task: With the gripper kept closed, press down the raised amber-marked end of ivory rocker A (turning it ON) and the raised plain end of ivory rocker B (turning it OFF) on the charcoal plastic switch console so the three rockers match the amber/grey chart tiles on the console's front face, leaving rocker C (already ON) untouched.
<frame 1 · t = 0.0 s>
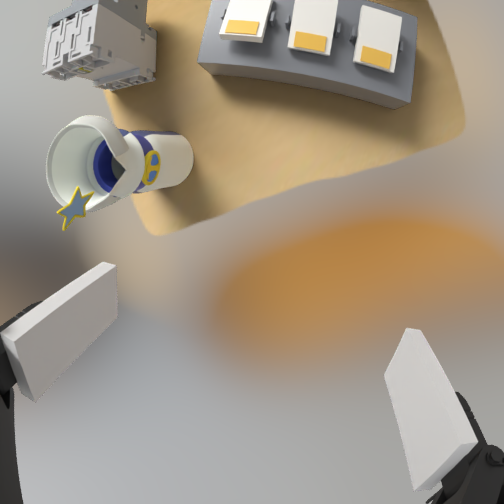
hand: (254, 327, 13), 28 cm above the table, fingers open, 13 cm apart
rocker C: (378, 38, 24), point 8 cm above the table, hinge at 12.0°
rocker A: (247, 14, 25), point 8 cm above the table, hinge at -12.0°
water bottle: (168, 157, 39), on the table
rocker B: (313, 22, 24), point 8 cm above the table, hinge at 12.0°
console: (310, 45, 32), on the table
circuit breaker: (134, 43, 34), on the table
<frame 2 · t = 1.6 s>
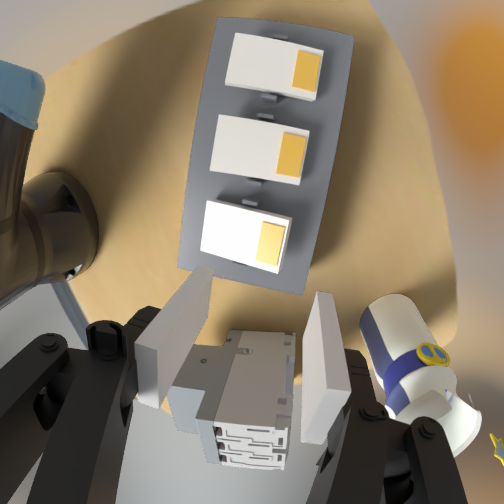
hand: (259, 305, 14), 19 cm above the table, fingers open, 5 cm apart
rocker C: (274, 65, 20), point 8 cm above the table, hinge at 12.0°
rocker A: (244, 234, 25), point 8 cm above the table, hinge at -12.0°
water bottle: (387, 320, 34), on the table
rocker B: (259, 149, 23), point 8 cm above the table, hinge at 12.0°
console: (268, 150, 30), on the table
circuit breaker: (239, 353, 38), on the table
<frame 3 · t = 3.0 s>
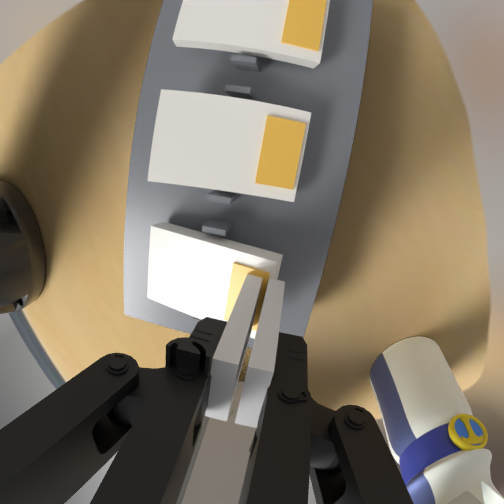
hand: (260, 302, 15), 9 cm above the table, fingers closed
rocker C: (253, 13, 11), point 8 cm above the table, hinge at 12.0°
rocker A: (207, 279, 16), point 8 cm above the table, hinge at -12.0°, touching gripper
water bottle: (404, 366, 25), on the table
rocker B: (228, 143, 14), point 8 cm above the table, hinge at 12.0°
console: (249, 146, 21), on the table
circuit breaker: (219, 403, 29), on the table
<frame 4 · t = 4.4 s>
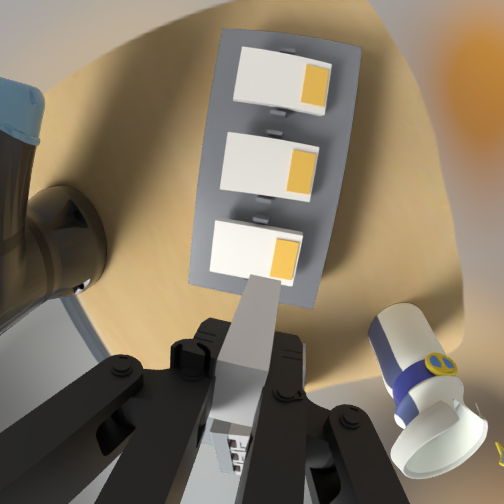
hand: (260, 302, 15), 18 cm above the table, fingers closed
rocker C: (282, 80, 21), point 8 cm above the table, hinge at 12.0°
rocker A: (255, 252, 25), point 8 cm above the table, hinge at 1.9°
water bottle: (396, 328, 34), on the table
rocker B: (269, 166, 23), point 8 cm above the table, hinge at 12.0°
console: (276, 164, 30), on the table
circuit breaker: (250, 363, 38), on the table
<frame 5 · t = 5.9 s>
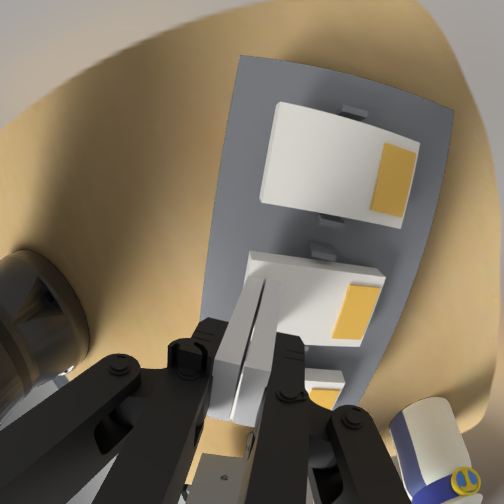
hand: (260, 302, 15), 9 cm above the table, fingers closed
rocker C: (344, 167, 13), point 8 cm above the table, hinge at 12.0°
rocker A: (280, 397, 18), point 8 cm above the table, hinge at 7.1°
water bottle: (419, 418, 27), on the table
rocker B: (310, 304, 15), point 8 cm above the table, hinge at 11.9°, touching gripper
console: (306, 256, 23), on the table
circuit breaker: (258, 449, 31), on the table
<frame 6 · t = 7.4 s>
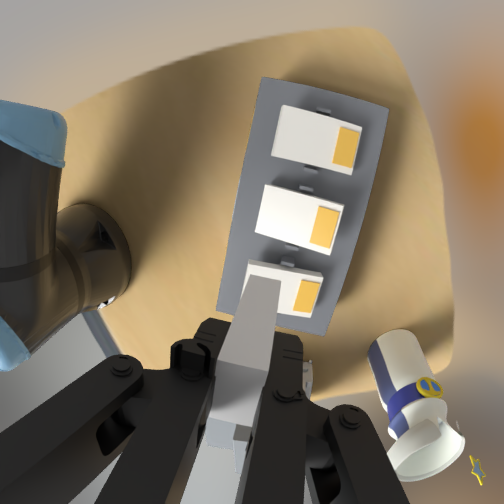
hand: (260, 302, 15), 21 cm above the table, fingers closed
rocker C: (317, 140, 24), point 8 cm above the table, hinge at 12.0°
rocker A: (280, 290, 29), point 8 cm above the table, hinge at 8.5°
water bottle: (392, 350, 38), on the table
rocker B: (298, 218, 26), point 8 cm above the table, hinge at -13.7°
console: (298, 204, 34), on the table
circuit breaker: (260, 375, 42), on the table
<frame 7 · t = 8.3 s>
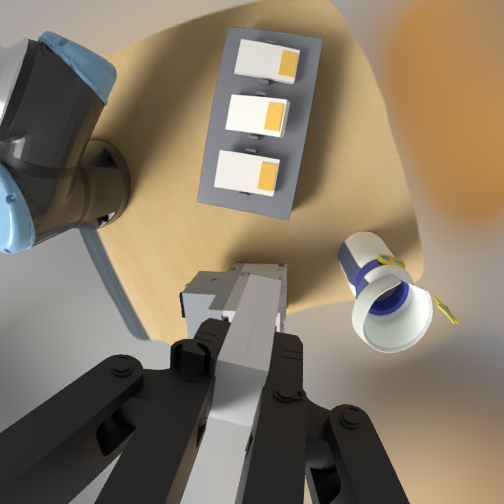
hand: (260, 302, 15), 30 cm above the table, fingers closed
rocker C: (267, 61, 31), point 8 cm above the table, hinge at 12.0°
rocker A: (246, 172, 35), point 8 cm above the table, hinge at 8.8°
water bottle: (361, 254, 44), on the table
rocker B: (256, 115, 33), point 8 cm above the table, hinge at -17.2°, touching console
console: (263, 122, 40), on the table
circuit breaker: (241, 285, 49), on the table
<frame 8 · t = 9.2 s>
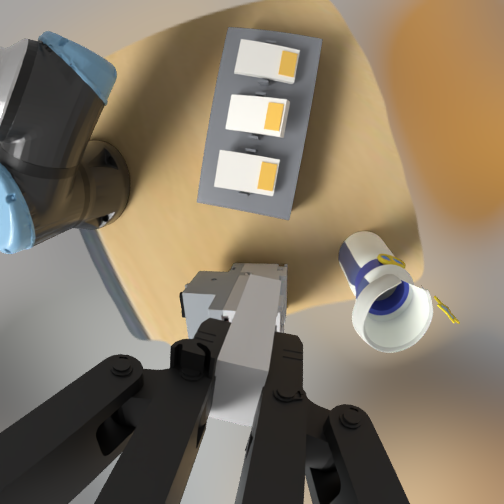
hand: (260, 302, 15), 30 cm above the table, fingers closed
rocker C: (267, 60, 31), point 8 cm above the table, hinge at 12.0°
rocker A: (246, 172, 35), point 8 cm above the table, hinge at 8.9°
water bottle: (361, 254, 44), on the table
rocker B: (256, 114, 33), point 8 cm above the table, hinge at -17.2°, touching console
console: (263, 121, 40), on the table
circuit breaker: (241, 285, 48), on the table
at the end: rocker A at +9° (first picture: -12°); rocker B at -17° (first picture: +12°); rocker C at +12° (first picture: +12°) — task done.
